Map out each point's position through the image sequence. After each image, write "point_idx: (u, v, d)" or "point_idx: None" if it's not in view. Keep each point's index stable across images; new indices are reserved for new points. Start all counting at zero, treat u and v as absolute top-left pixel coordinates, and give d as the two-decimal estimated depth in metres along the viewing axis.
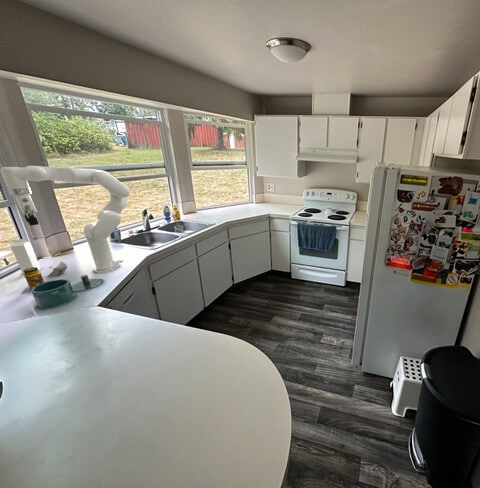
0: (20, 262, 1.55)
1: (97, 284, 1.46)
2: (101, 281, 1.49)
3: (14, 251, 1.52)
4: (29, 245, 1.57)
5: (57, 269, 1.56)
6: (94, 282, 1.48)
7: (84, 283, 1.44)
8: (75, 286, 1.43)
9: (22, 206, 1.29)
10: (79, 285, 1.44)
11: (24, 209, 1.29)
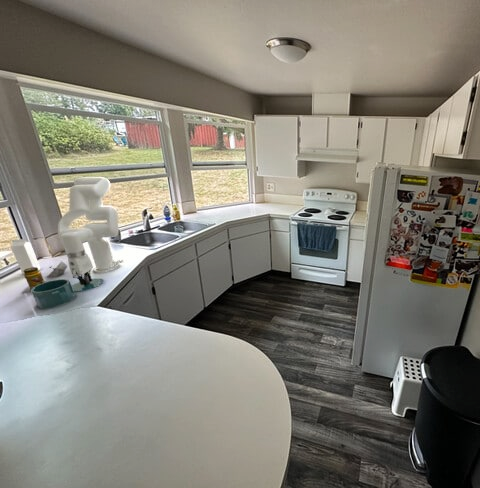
0: (20, 262, 1.55)
1: (97, 284, 1.46)
2: (101, 281, 1.49)
3: (14, 251, 1.52)
4: (29, 245, 1.57)
5: (57, 269, 1.56)
6: (94, 282, 1.48)
7: None
8: (75, 286, 1.43)
9: (70, 268, 1.37)
10: (79, 285, 1.44)
11: (71, 271, 1.37)
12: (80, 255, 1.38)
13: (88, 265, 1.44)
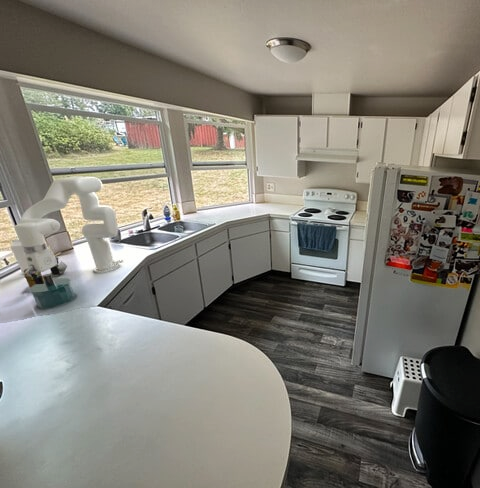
0: (20, 262, 1.55)
1: (62, 284, 1.28)
2: (67, 281, 1.31)
3: (14, 251, 1.52)
4: None
5: None
6: (59, 282, 1.30)
7: (46, 283, 1.26)
8: (36, 287, 1.25)
9: (28, 265, 1.18)
10: (41, 286, 1.26)
11: None
12: (39, 249, 1.19)
13: (51, 261, 1.25)
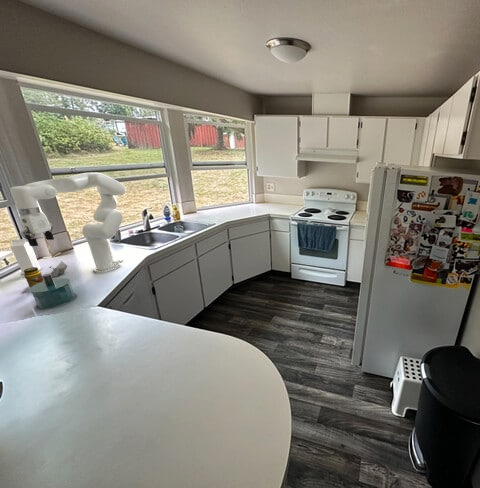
0: (20, 262, 1.55)
1: (62, 284, 1.28)
2: (67, 281, 1.31)
3: (14, 251, 1.52)
4: (29, 245, 1.57)
5: (57, 269, 1.56)
6: (59, 282, 1.30)
7: (46, 283, 1.26)
8: (36, 287, 1.25)
9: (22, 226, 1.24)
10: (41, 286, 1.26)
11: None
12: (34, 212, 1.25)
13: (45, 225, 1.31)
